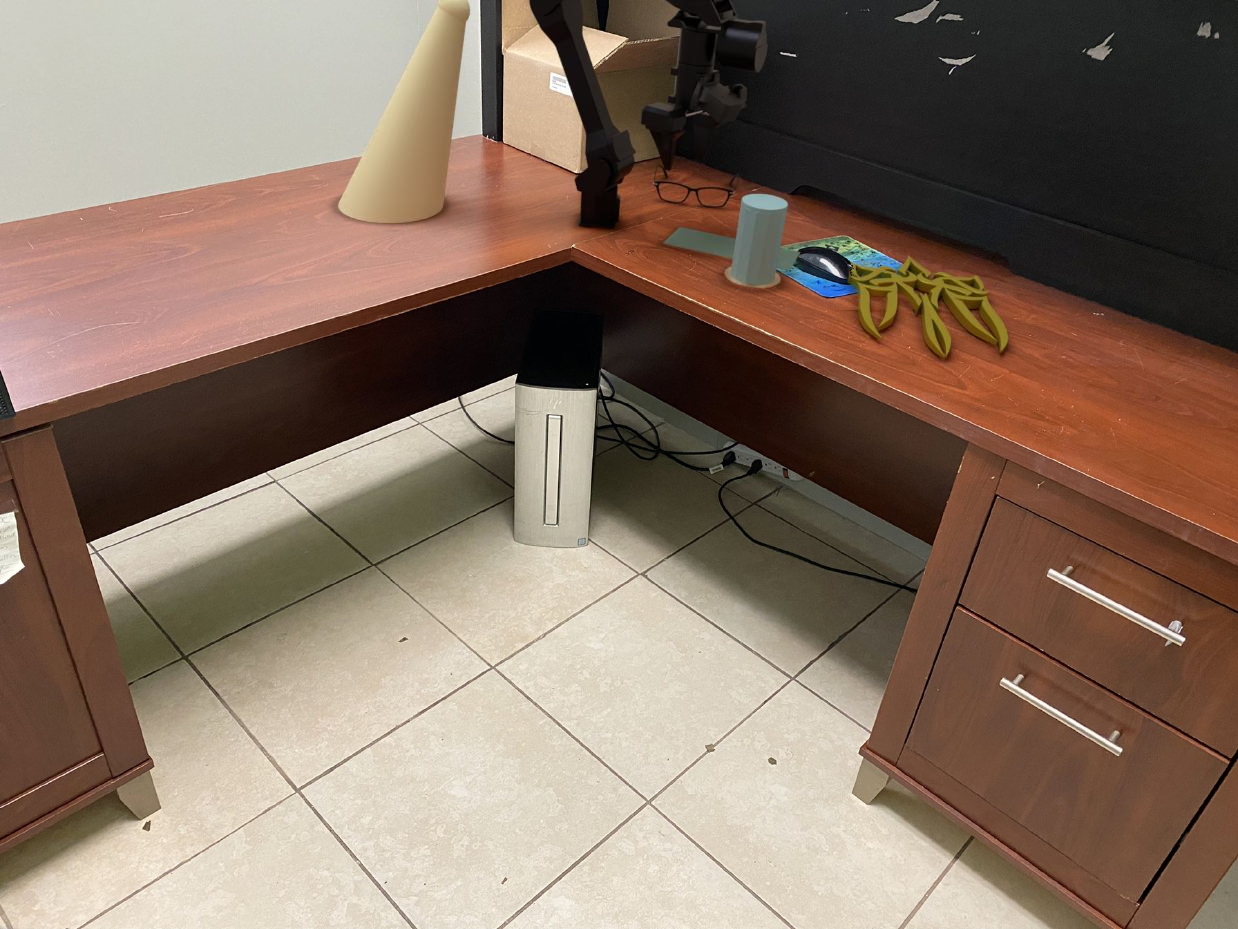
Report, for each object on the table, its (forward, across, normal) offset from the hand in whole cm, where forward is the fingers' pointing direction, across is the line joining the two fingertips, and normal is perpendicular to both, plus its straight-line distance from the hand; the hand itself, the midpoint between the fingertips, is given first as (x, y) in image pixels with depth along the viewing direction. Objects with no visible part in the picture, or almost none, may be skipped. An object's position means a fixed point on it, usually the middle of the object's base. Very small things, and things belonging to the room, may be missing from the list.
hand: (684, 164), depth 142 cm
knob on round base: (+13, -4, -18) cm, 23 cm away
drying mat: (+13, +4, -9) cm, 16 cm away
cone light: (+13, -24, +42) cm, 50 cm away
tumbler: (+12, -4, -18) cm, 22 cm away
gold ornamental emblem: (+13, +7, -42) cm, 45 cm away
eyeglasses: (+13, +23, +13) cm, 29 cm away
